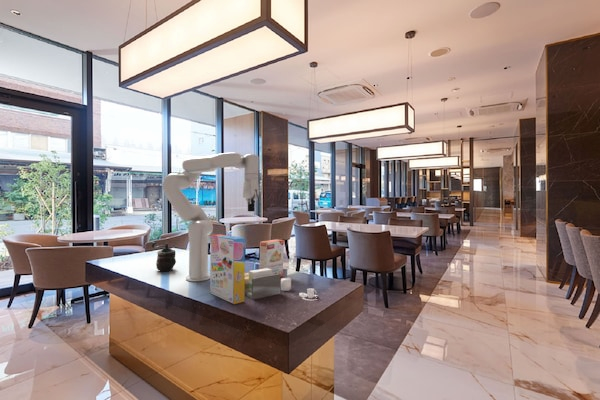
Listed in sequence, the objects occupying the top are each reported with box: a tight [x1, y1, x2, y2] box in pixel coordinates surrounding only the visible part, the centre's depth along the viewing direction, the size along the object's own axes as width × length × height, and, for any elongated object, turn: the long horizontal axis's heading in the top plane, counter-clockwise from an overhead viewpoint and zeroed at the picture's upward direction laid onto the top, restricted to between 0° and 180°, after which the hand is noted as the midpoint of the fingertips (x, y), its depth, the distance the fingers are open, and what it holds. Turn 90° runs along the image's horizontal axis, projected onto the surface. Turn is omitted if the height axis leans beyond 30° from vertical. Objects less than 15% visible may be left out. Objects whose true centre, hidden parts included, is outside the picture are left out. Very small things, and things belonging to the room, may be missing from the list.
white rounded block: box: [280, 277, 292, 292], centre depth 144 cm, size 5×5×5 cm
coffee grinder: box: [151, 241, 177, 272], centre depth 178 cm, size 13×15×18 cm
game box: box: [209, 233, 246, 305], centre depth 131 cm, size 21×6×27 cm, turn 44°
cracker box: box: [259, 238, 285, 278], centre depth 164 cm, size 14×6×21 cm, turn 144°
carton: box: [248, 268, 272, 292], centre depth 138 cm, size 9×10×4 cm
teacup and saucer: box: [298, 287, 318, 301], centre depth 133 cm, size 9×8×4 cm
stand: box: [245, 272, 281, 300], centre depth 141 cm, size 20×14×9 cm
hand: (251, 211), depth 160 cm, fingers closed
